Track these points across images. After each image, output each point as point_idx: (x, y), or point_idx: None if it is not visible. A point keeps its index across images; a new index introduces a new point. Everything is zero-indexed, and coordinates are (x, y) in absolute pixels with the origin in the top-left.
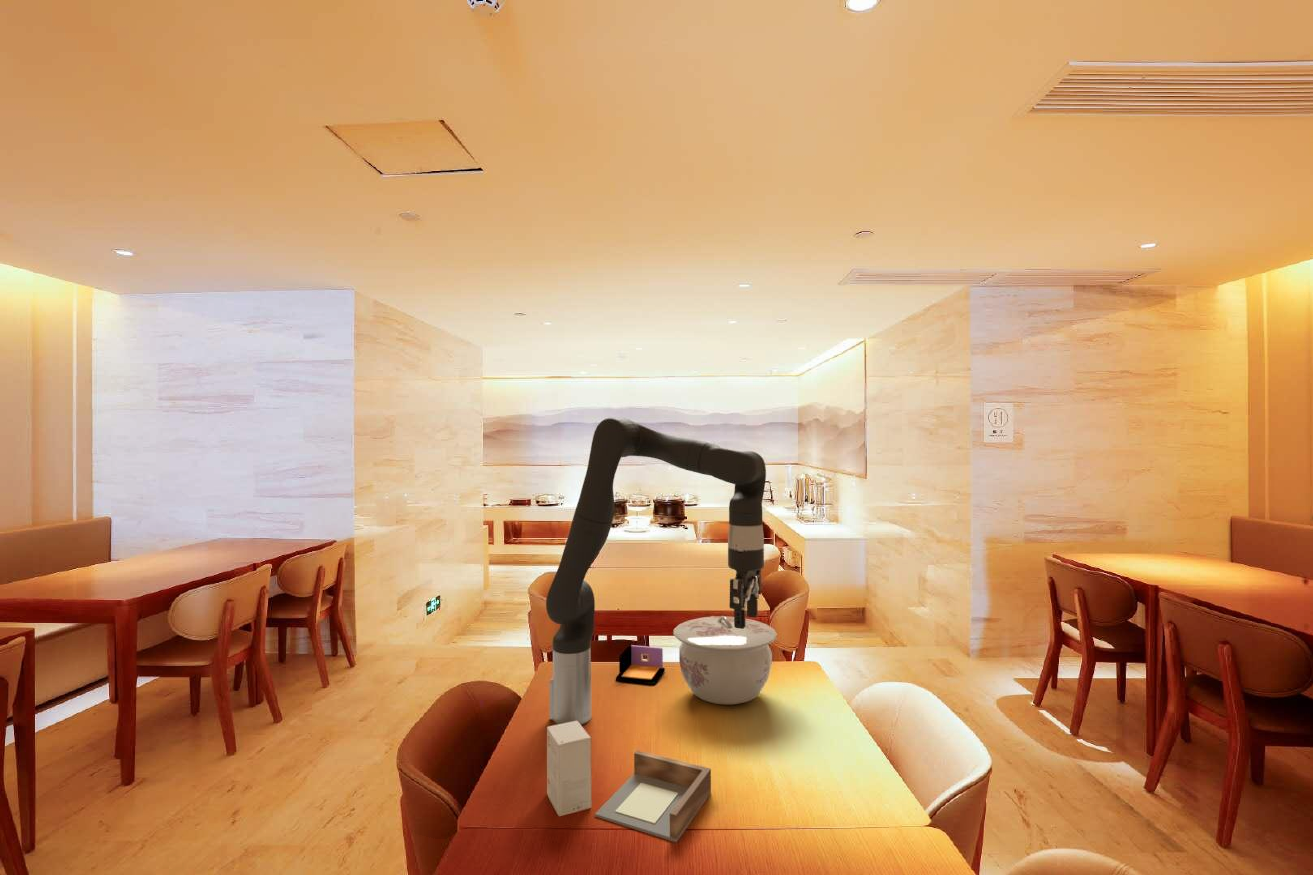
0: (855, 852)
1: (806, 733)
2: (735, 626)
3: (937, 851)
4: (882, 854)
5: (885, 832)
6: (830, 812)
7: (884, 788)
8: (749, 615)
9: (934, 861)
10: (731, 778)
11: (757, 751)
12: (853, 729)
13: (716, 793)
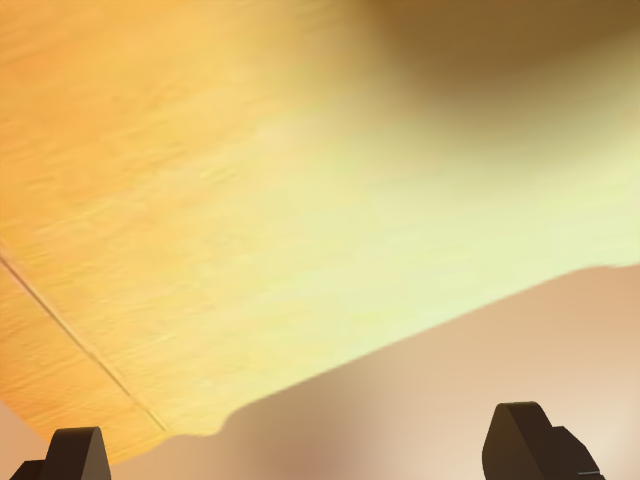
0: (4, 364)
1: (483, 183)
2: (55, 439)
3: None
4: (32, 398)
5: (107, 393)
6: (112, 306)
7: (269, 372)
8: (501, 422)
9: None
10: (117, 45)
11: (320, 75)
12: (534, 282)
13: (4, 26)
